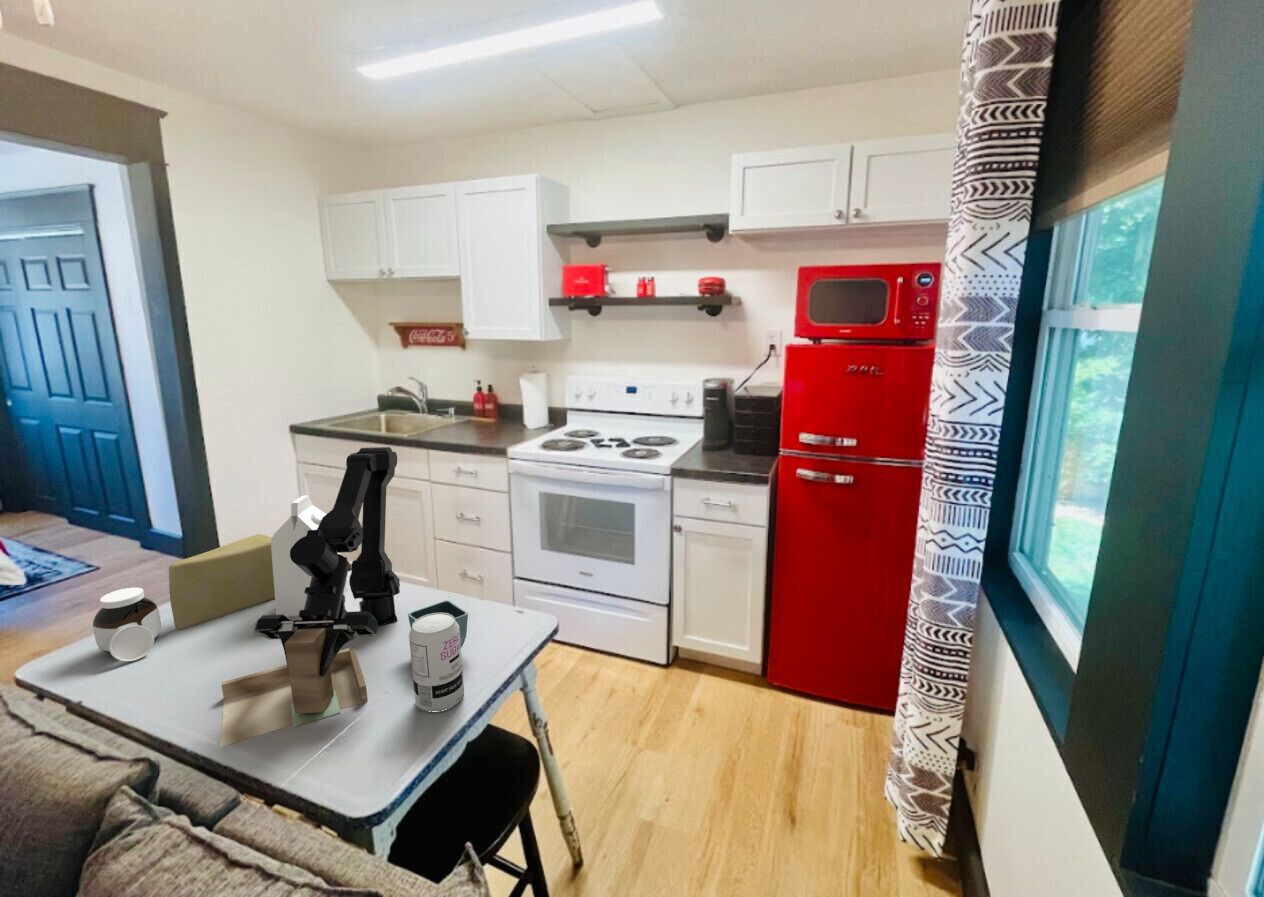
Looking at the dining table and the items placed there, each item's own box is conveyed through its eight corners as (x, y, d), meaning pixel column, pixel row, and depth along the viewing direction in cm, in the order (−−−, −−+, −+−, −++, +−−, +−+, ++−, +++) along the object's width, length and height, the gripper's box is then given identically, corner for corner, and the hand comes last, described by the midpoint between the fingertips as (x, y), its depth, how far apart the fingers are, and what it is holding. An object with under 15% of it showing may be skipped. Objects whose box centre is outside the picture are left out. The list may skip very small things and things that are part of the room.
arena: (356, 662, 116) (354, 646, 116) (369, 705, 103) (366, 688, 102) (224, 699, 105) (221, 682, 105) (220, 753, 92) (216, 734, 91)
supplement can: (422, 687, 108) (415, 612, 105) (468, 684, 109) (462, 609, 106) (410, 716, 100) (402, 635, 97) (459, 713, 101) (453, 633, 98)
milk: (299, 593, 146) (285, 492, 141) (348, 590, 148) (336, 490, 142) (276, 617, 135) (260, 508, 129) (329, 614, 136) (315, 505, 130)
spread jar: (141, 632, 129) (131, 582, 126) (184, 637, 126) (175, 587, 124) (81, 663, 117) (68, 609, 115) (127, 669, 115) (115, 614, 112)
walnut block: (307, 696, 104) (297, 629, 101) (333, 695, 104) (325, 628, 101) (294, 713, 99) (284, 643, 96) (322, 712, 100) (313, 642, 97)
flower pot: (450, 637, 125) (447, 598, 123) (472, 654, 119) (469, 613, 117) (410, 654, 119) (406, 613, 117) (430, 672, 113) (426, 629, 111)
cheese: (187, 636, 127) (175, 570, 124) (166, 625, 132) (154, 562, 129) (289, 595, 146) (281, 537, 143) (267, 586, 151) (259, 531, 147)
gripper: (392, 599, 115) (378, 683, 106) (293, 602, 113) (271, 689, 105) (374, 578, 105) (357, 670, 97) (265, 582, 104) (239, 675, 96)
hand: (306, 676), depth 99 cm, fingers closed on walnut block, 4 cm apart
